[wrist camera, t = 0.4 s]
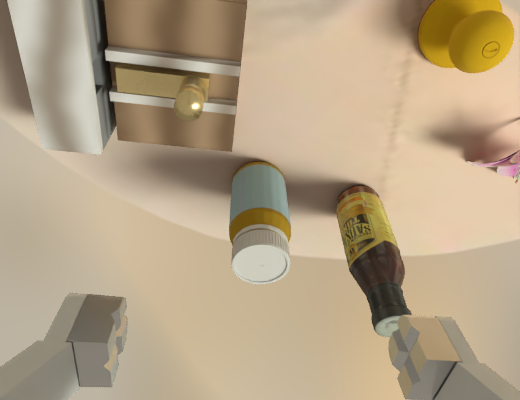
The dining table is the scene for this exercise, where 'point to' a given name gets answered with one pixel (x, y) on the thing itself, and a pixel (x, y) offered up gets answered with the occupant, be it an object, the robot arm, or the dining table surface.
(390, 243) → the sauce bottle
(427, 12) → the doorknob
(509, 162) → the lily
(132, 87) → the bolt
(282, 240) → the bottle
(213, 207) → the dining table surface
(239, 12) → the door latch block
